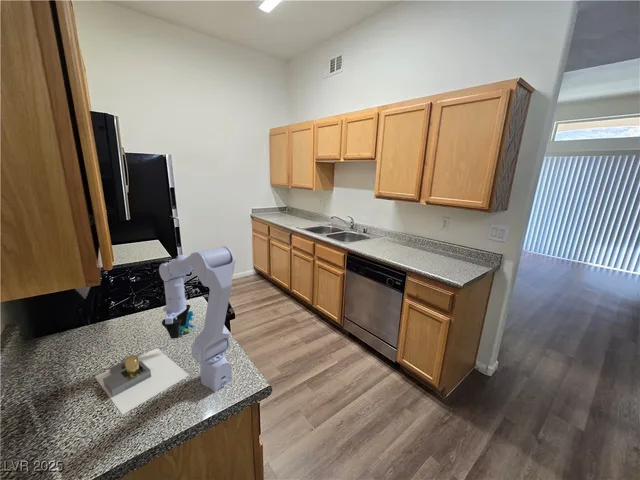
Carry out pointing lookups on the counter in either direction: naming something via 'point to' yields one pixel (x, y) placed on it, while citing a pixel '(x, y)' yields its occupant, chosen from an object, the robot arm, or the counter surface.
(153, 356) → the mat
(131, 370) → the pin
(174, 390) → the counter surface
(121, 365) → the plate
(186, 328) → the gear
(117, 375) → the plate
